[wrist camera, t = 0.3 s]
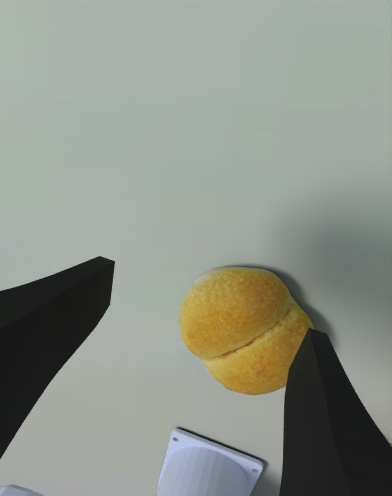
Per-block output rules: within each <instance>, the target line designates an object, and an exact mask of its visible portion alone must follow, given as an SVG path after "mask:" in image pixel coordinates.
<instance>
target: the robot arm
mask: <svg viewBox="0 0 392 496" xmlns="http://www.w3.org/2000/svg"><path fill="white" fill-rule="evenodd" d="M114 265H115V261H112V260H109V259H107V258H104V257H101V256H99V257H96V258H94V259H91V260H88V261H86V262H84V263H81V264H79V265H76V266H74V267H71V268H69V269H66V270H64V271H61V272H59V273H56V274H53V275H51V276H48V277H45V278H42V279H39V280H36V281H33V282H30V283H27V284H24V285H21V286H18V287H14V288H10V289H6V290H2V291H0V459H1V457H2V455H3V454H4V452H5V451H6V449H7V447H8V446H9V444H10V442H11V441H12V439H13V438H14V436H15V434H16V433H17V431H18V430H19V428H20V426H21V425H22V423H23V422H24V420H25V419H26V417H27V416H28V414H29V413H30V411H31V410H32V408H33V407H34V405H35V403H36V402H37V401H38V399H39V398H40V396H41V395H42V393H43V392H44V390H45V389H46V387H47V386H48V384H49V383H50V382H51V380H52V379H53V378H54V376H55V375H56V374H57V373H58V371H59V370H60V369H61V368H62V366H63V365H64V364H65V363H66V362H67V361H68V359H69V358H70V357H71V356H72V355H73V354H74V352H75V351H76V350H77V349H78V348H79V346H80V345H81V344H82V343H83V342H84V341H85V339H86V338H87V337H88V336H89V335H90V333H91V332H92V331H93V330H94V328H95V327H96V326H97V324H98V323H99V321H100V320H101V318H102V317H103V315H104V314H105V312H106V310H107V309H108V307H109V305H110V300H111V291H112V282H113V274H114ZM262 470H263V463H262V462H261V461H260V460H257V459H255V458H252V457H250V456H247V455H245V454H242V453H240V452H237V451H234V450H232V449H229V448H227V447H224V446H222V445H219V444H217V443H214V442H211V441H209V440H206V439H204V438H201V437H199V436H196V435H194V434H191V433H188V432H186V431H183V430H181V429H178V428H175V429H173V431H172V433H171V437H170V441H169V444H168V448H167V452H166V456H165V459H164V463H163V467H162V471H161V474H160V478H159V482H158V486H157V488H158V492H157V495H156V496H250V494H251V492H252V490H253V488H254V486H255V484H256V482H257V480H258V478H259V476H260V474H261V472H262ZM0 496H44V495H42V494H40V493H37V492H35V491H33V490H30V489H27V488H24V487H20V486H17V485H13V484H12V485H6V486H0ZM279 496H392V446H391V445H390V444H389V442H388V441H387V440H386V438H385V437H384V435H383V434H382V433H381V431H380V430H379V428H378V427H377V425H376V424H375V423H374V421H373V420H372V418H371V417H370V415H369V414H368V412H367V410H366V409H365V407H364V405H363V404H362V402H361V400H360V399H359V397H358V395H357V394H356V392H355V390H354V388H353V386H352V384H351V383H350V381H349V379H348V377H347V375H346V373H345V371H344V369H343V367H342V365H341V363H340V361H339V359H338V357H337V355H336V352H335V350H334V348H333V346H332V344H331V342H330V340H329V338H328V336H327V334H326V333H323V332H320V331H317V330H314V329H311V328H308V330H307V332H306V334H305V337H304V339H303V341H302V343H301V345H300V347H299V349H298V351H297V353H296V355H295V357H294V360H293V362H292V364H291V366H290V368H289V372H288V378H287V384H286V391H285V402H284V441H283V468H282V479H281V487H280V495H279Z"/></svg>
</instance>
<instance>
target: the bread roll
mask: <svg viewBox="0 0 392 496" xmlns="http://www.w3.org/2000/svg"><path fill="white" fill-rule="evenodd" d="M179 324H180V330H181V335H182V339H183V341H184V344H185V346H186V347H187V348H188V349H189V350H190V351H191V352H192V353H193V354H194V355H196V356H197V357H199V358H200V359H201V360H202V361H203V362H204V364H205V366H206V367H207V369H208V371H209V372H210V373H211V374H212V376H213V377H214V378H215V379H216V380H217V381H218V382H220V383H221V384H222V385H223V386H224V387H226V388H227V389H229V390H232V391H235V392H239V393H243V394H248V395H260V394H265V393H270V392H273V391H276V390H278V389H280V388H284V387H286V384H287V378H288V372H289V368H290V366H291V364H292V362H293V360H294V357H295V355H296V353H297V351H298V349H299V347H300V345H301V343H302V341H303V339H304V337H305V334H306V332H307V330H308V328H311V329H314V326H313V324H312V322H311V320H310V318H309V317H308V316H307V315H306V313H305V312H304V311H303V310H302V309H301V307H300V306H299V305H298V304H297V303H296V302H295V300H294V299H293V297H292V296H291V295H290V292H289V290H288V288H287V287H286V285H285V284H284V283H283V282H282V281H281V280H280V278H279V277H278V276H276V275H275V274H274V273H272V272H270V271H267V270H264V269H259V268H248V267H221V268H215V269H213V270H210V271H208V272H206V273H204V274H203V275H201V276H200V277H199V278H197V279H196V281H195V282H194V283H193V284H192V286H191V287H190V289H189V290H188V292H187V293H186V295H185V297H184V299H183V301H182V304H181V308H180V314H179Z"/></svg>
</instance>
